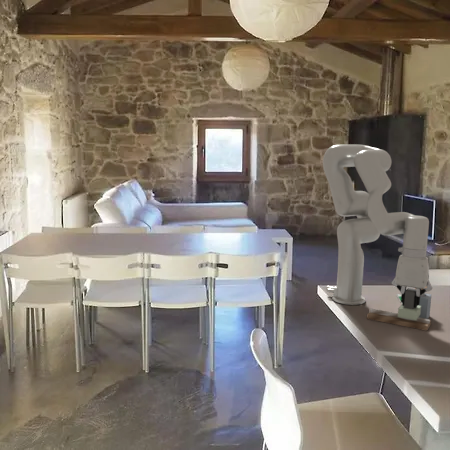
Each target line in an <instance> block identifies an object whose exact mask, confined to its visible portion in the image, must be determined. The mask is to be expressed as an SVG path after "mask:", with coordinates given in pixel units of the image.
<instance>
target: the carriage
mask: <svg viewBox="0 0 450 450" xmlns="http://www.w3.org/2000/svg"><path fill="white" fill-rule="evenodd" d="M415 295H416V289H415V288H412V287H407V288H406V291H405V301H404V306H402V304H401V305H400V306H399V307H398V308H397V310H398V311H397V313H398V317H401V318H406V319H412V320H417V318H418V317H419V316H420V314H421V306H419V305H418V306H417V307H416V308H414V297H415Z"/></svg>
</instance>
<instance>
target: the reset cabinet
mask: <svg viewBox="0 0 450 450" xmlns="http://www.w3.org/2000/svg"><path fill="white" fill-rule="evenodd" d="M431 303H432V293H426V292H425V297H422V296H420V304H419V306H421V314H420V316H419V318H424V319H429V317H430V316H431V305H432V304H431Z"/></svg>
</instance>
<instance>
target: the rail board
mask: <svg viewBox="0 0 450 450" xmlns="http://www.w3.org/2000/svg"><path fill="white" fill-rule="evenodd" d="M366 319H367V320H372V321H378V322H381V323H386V324H392V325H396V326H401V327H402V326H403V327H408V328H413V329H416V330H417V329H418V330H421V331H426V332H427V331H428V330H429V328H430V326H431V325H432V319H429V318H428V319H424V318H419V317H418V318H417V320H412V319H406V318H401V317H398V312H393V311H386V310H381V309H376V308H370V309H369V312H368V313H367V314H366Z"/></svg>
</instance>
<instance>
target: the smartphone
mask: <svg viewBox="0 0 450 450" xmlns="http://www.w3.org/2000/svg"><path fill="white" fill-rule="evenodd" d="M401 295H402V294H401V293H396V294H395V297H396V298H397V300H398V301H399V302H400V303H401V305H402V303H403V302H401Z"/></svg>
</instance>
